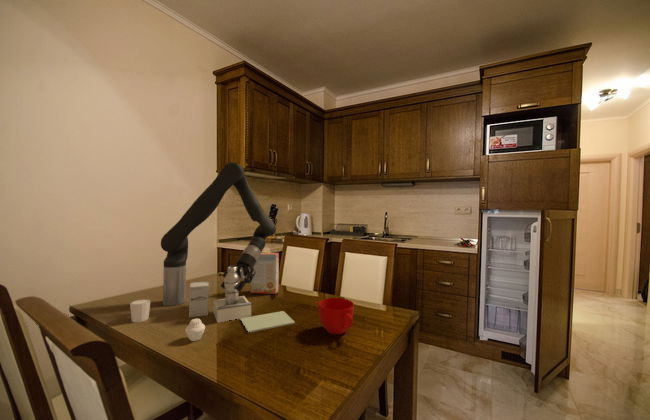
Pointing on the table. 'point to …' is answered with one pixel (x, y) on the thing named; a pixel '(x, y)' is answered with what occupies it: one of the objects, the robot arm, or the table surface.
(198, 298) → the supplement box
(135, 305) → the shot glass
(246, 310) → the sleeve
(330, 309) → the ceramic cup
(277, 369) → the table surface
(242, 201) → the robot arm
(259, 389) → the table surface
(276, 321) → the mat
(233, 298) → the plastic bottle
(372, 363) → the table surface
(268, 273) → the cracker box
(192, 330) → the muffin
